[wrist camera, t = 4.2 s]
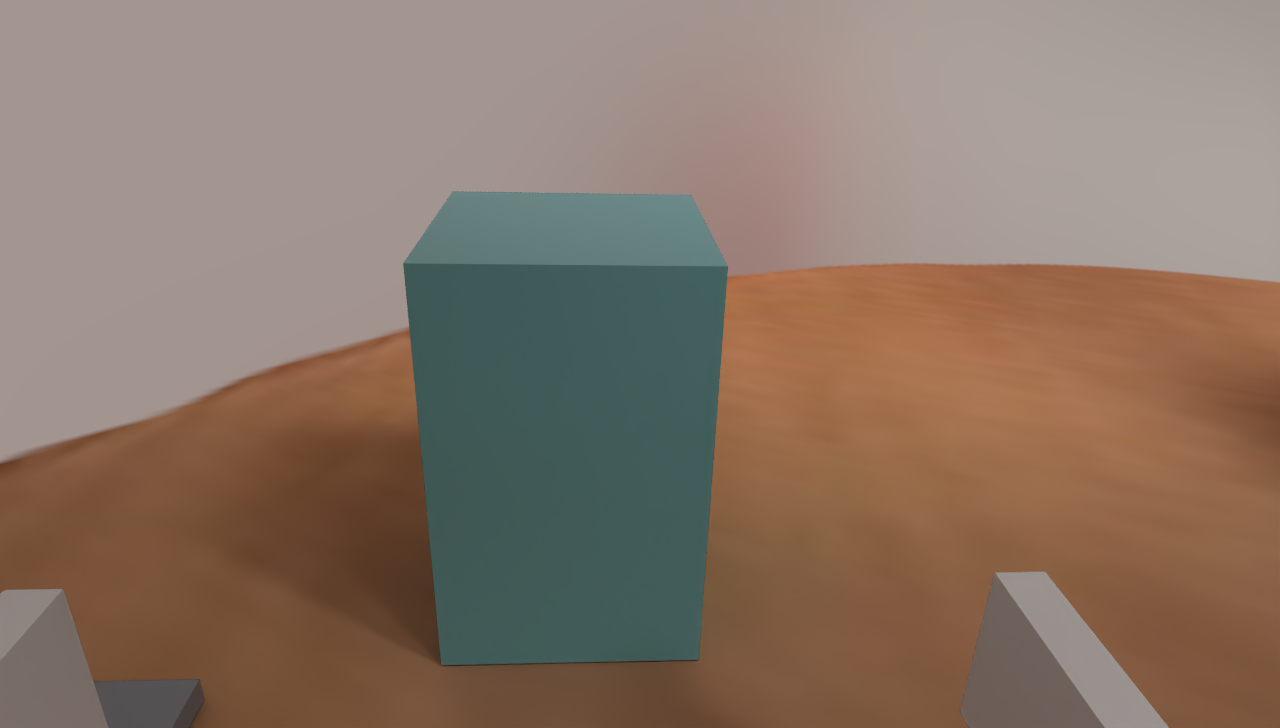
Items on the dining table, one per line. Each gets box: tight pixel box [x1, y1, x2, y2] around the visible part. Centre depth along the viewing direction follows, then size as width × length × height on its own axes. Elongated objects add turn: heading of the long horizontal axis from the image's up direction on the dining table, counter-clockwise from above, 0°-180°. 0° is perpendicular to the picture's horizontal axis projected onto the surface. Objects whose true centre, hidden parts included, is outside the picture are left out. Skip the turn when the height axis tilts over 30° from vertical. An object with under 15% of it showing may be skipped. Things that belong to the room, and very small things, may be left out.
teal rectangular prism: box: [403, 192, 728, 665], centre depth 21 cm, size 6×6×10 cm
